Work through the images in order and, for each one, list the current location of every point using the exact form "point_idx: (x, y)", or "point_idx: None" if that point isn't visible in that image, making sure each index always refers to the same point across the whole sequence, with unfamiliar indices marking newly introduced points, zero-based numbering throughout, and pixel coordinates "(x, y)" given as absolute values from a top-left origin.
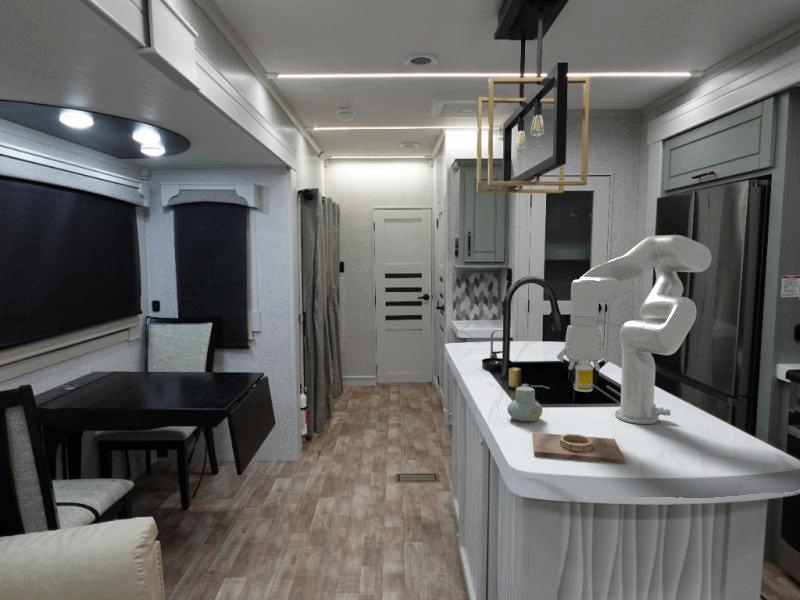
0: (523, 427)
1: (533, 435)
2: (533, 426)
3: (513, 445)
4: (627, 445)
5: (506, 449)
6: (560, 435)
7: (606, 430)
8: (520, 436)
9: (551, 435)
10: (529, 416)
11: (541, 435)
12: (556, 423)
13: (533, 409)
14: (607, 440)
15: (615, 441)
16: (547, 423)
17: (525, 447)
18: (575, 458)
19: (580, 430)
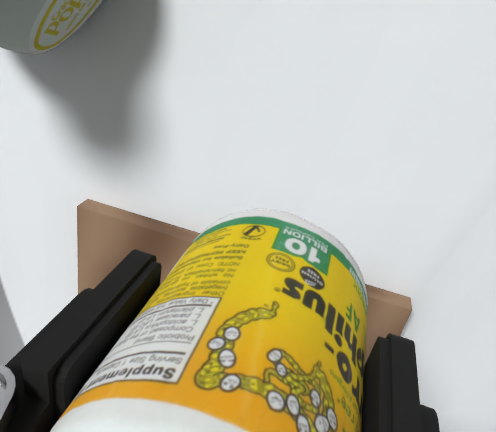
0: (52, 85)
1: (79, 237)
2: (96, 70)
3: (27, 269)
4: (457, 325)
5: (11, 293)
6: (183, 248)
7: (477, 141)
8: (44, 194)
9: (147, 245)
10: (47, 48)
11: (108, 241)
12: (221, 15)
13: (43, 22)
14: (367, 321)
15: (398, 334)
16: (171, 17)
17: (63, 288)
18: None
19: (320, 136)
